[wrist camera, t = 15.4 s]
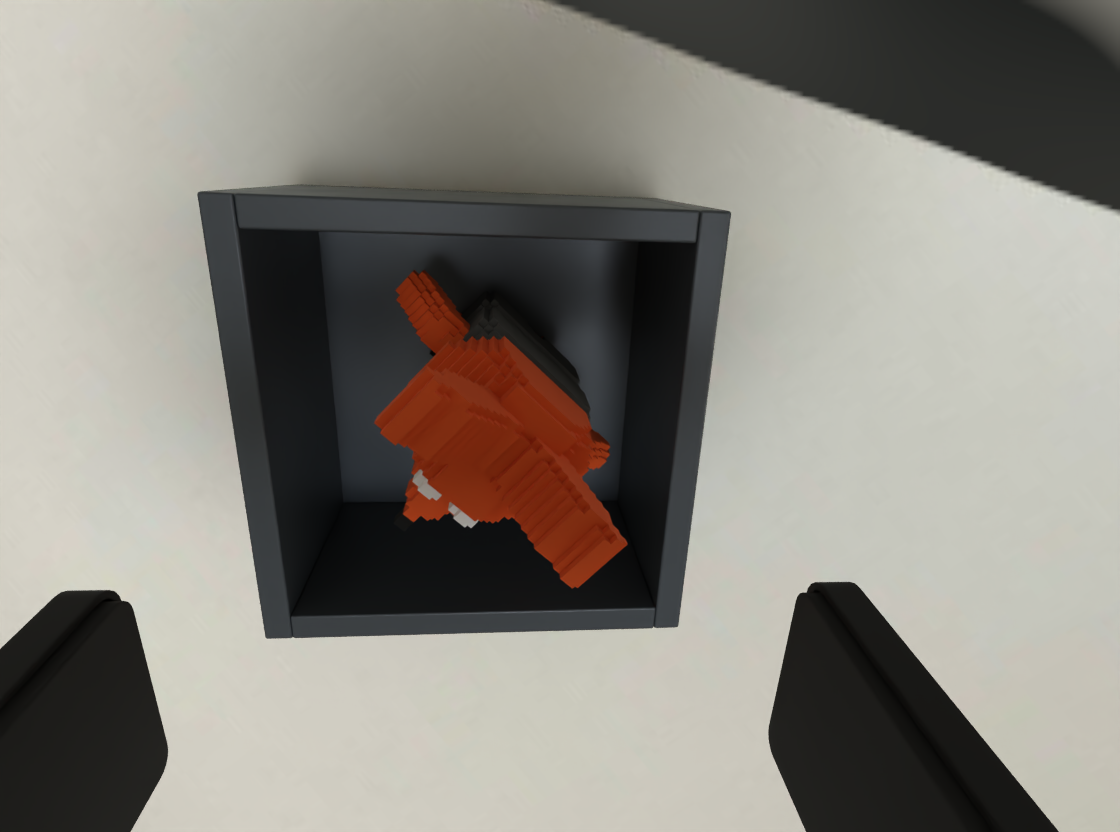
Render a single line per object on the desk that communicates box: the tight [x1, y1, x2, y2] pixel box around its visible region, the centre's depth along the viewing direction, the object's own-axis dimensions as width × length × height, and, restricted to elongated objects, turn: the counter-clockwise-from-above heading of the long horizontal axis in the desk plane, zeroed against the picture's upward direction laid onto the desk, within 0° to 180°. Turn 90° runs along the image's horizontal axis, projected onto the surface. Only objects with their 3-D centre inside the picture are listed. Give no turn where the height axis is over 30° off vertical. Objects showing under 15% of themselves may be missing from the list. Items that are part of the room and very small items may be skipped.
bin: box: [198, 185, 731, 639], centre depth 21 cm, size 13×13×8 cm
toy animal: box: [374, 270, 627, 589], centre depth 18 cm, size 8×6×12 cm
